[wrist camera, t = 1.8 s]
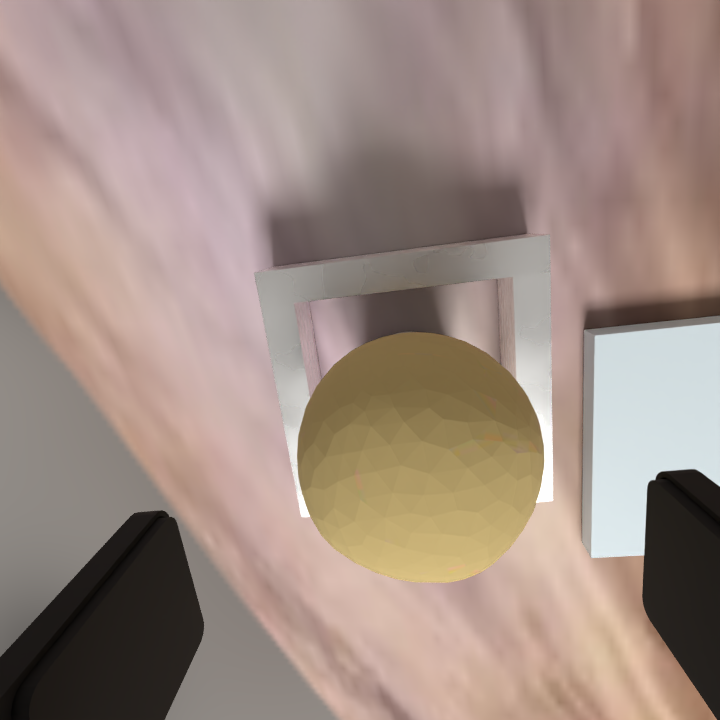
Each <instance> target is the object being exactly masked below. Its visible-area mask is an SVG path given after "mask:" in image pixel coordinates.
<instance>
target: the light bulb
mask: <svg viewBox="0 0 720 720" xmlns="http://www.w3.org/2000/svg"><path fill="white" fill-rule="evenodd" d="M544 464H545V457H544V443H543V438H542V433H541V428H540V423H539V420H538V417H537V414H536V412H535V410H534V408H533V406H532V404H531V402H530V400H529V398H528V396H527V394H526V393H525V391H524V390H523V388H522V387H521V386H520V385H519V383H518V382H517V381H516V379H515V378H514V377H513V376H512V374H511V373H510V372H509V371H508V370H506V369H505V368H504V367H503V366H502V365H500V364H499V363H498V362H497V361H496V360H494V359H493V358H492V357H491V356H490V355H488V354H487V353H486V352H484V351H482V350H480V349H478V348H476V347H475V346H473V345H471V344H469V343H467V342H465V341H462V340H459V339H456V338H452V337H449V336H445V335H441V334H435V333H425V332H411V331H405V332H400V333H396V334H393V335H389V336H384V337H381V338H378V339H376V340H373V341H370V342H367V343H365V344H363V345H361V346H360V347H358V348H356V349H354V350H352V351H351V352H349V353H348V354H347V355H346V356H344V357H343V358H342V359H341V360H339V361H338V362H337V363H336V364H334V365H333V367H332V368H331V369H330V370H329V371H328V373H327V374H326V375H325V376H324V378H323V379H322V380H321V381H320V382H319V384H318V385H317V386H316V388H315V390H314V392H313V394H312V396H311V398H310V400H309V402H308V404H307V405H306V408H305V412H304V416H303V419H302V423H301V427H300V430H299V434H298V447H297V465H298V478H299V483H300V487H301V491H302V495H303V498H304V501H305V504H306V507H307V510H308V513H309V515H310V517H311V519H312V520H313V522H314V524H315V525H316V527H317V529H318V531H319V532H320V534H321V536H322V537H323V538H324V539H325V540H326V541H327V542H328V543H329V544H330V545H331V546H332V547H333V548H334V549H335V550H337V551H338V552H340V553H341V554H343V555H344V556H346V557H347V558H349V559H350V560H352V561H353V562H355V563H357V564H359V565H361V566H363V567H365V568H367V569H369V570H371V571H373V572H375V573H378V574H382V575H385V576H388V577H391V578H394V579H399V580H405V581H411V582H445V583H447V582H453V581H458V580H463V579H466V578H468V577H471V576H474V575H476V574H478V573H481V572H482V571H484V570H485V569H487V568H488V567H490V566H491V565H492V564H494V563H495V562H496V561H497V560H498V559H499V558H500V557H501V556H502V555H503V554H504V553H505V552H506V551H507V550H508V549H509V548H510V547H511V546H512V544H513V543H514V542H515V540H516V539H517V538H518V536H519V535H520V534H521V532H522V531H523V529H524V527H525V526H526V524H527V522H528V520H529V518H530V516H531V515H532V513H533V511H534V508H535V505H536V502H537V499H538V496H539V493H540V489H541V485H542V478H543V471H544Z"/></svg>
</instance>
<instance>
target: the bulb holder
mask: <svg viewBox="0 0 720 720" xmlns="http://www.w3.org/2000/svg"><path fill="white" fill-rule="evenodd" d="M254 275H255V280H256V285H257V290H258V295H259V301H260V306H261V311H262V316H263V321H264V326H265V332H266V337H267V342H268V347H269V352H270V357H271V363H272V368H273V373H274V378H275V383H276V388H277V393H278V399H279V404H280V409H281V414H282V419H283V424H284V430H285V435H286V440H287V445H288V450H289V455H290V461H291V466H292V471H293V476H294V481H295V486H296V492H297V497H298V502H299V507H300V512H301V517H310V515H309V513H308V510H307V507H306V504H305V501H304V498H303V495H302V491H301V487H300V483H299V478H298V465H297V447H298V434H299V430H300V427H301V423H302V419H303V416H304V412H305V408H306V405H307V404H308V402H309V400H310V398H311V396H312V394H313V392H314V390H315V388H316V386H317V385H318V384H319V382H320V381H321V374H320V368H319V362H318V356H317V349H316V343H315V337H314V331H313V325H312V319H311V313H310V306H309V301H315V300H323V299H332V298H340V297H348V296H357V295H365V294H373V293H382V292H390V291H398V290H407V289H415V288H423V287H432V286H440V285H448V284H457V283H465V282H473V281H482V280H490V279H497V287H498V310H499V333H500V355H501V365H502V366H503V367H504V368H505V369H506V370H508V371H509V372H510V373H511V374H512V376H513V377H514V378H515V379H516V381H517V382H518V383H519V385H520V386H521V387H522V388H523V390H524V391H525V393H526V394H527V396H528V398H529V400H530V402H531V404H532V406H533V408H534V410H535V412H536V414H537V417H538V420H539V423H540V428H541V433H542V438H543V443H544V457H545V464H544V471H543V478H542V485H541V489H540V493H539V496H538V499H537V502H544V501H553V456H552V369H551V281H550V235H545V234H521V235H514V236H506V237H498V238H491V239H483V240H475V241H467V242H460V243H452V244H444V245H437V246H429V247H421V248H414V249H406V250H398V251H390V252H383V253H375V254H367V255H360V256H352V257H344V258H337V259H329V260H321V261H314V262H306V263H298V264H290V265H283V266H275V267H271V268H268V269H265V270H262V271H258V272H255V273H254Z"/></svg>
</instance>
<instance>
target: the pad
mask: <svg viewBox="0 0 720 720" xmlns="http://www.w3.org/2000/svg"><path fill="white" fill-rule="evenodd" d="M686 469H696V470H698V471H700V472H701V473H702V474H704V475H705V476H706V477H708V478H709V479H710V480H712V481H713V482H714V483H716V484H717V485H718V486H720V316H710V317H701V318H691V319H682V320H672V321H663V322H653V323H644V324H634V325H625V326H615V327H606V328H596V329H587V330H584V380H583V485H582V543H583V545H584V547H585V548H586V550H587V552H588V553H589V555H590V557H591V558H600V557H620V556H640V555H644V549H645V526H646V504H647V486H648V483H649V481H651V480H655V479H656V476H657V474H658V473H659V472H661V471H673V470H686Z"/></svg>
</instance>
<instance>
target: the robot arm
mask: <svg viewBox="0 0 720 720" xmlns="http://www.w3.org/2000/svg"><path fill="white" fill-rule="evenodd" d="M642 597H643V604H644V608H645V611H646V613H647V616H648V618H649V619H650V621H651V623H652V624H653V626H654V627H655V628H656V630H657V631H658V633H659V634H660V636H661V637H662V639H663V640H664V642H665V643H666V645H667V646H668V648H669V649H670V651H671V652H672V654H673V655H674V657H675V658H676V659H677V661H678V662H679V664H680V665H681V667H682V668H683V670H684V671H685V673H686V674H687V676H688V677H689V679H690V680H691V682H692V683H693V685H694V686H695V688H696V689H697V690H698V692H699V693H700V695H701V696H702V698H703V699H704V701H705V702H706V704H707V705H708V707H709V708H710V710H711V711H712V713H713V714H714V716H715V717H716V718H717V720H720V486H718V485H717V484H716V483H714V482H713V481H712V480H710V479H709V478H708V477H706V476H705V475H704V474H702V473H701V472H700V471H698V470H696V469H686V470H673V471H661V472H659V473H658V474H657V476H656V479H655V480H651V481H649V483H648V486H647V504H646V526H645V549H644V572H643V594H642ZM203 631H204V622H203V617H202V613H201V610H200V606H199V602H198V599H197V595H196V591H195V588H194V584H193V580H192V577H191V573H190V569H189V566H188V562H187V558H186V555H185V551H184V547H183V543H182V540H181V536H180V533H179V529H178V525H177V522H176V520H175V519H174V518H172V517H169V515H168V514H167V513H166V512H165V511H150V512H138V513H134V514H133V515H132V516H130V518H129V519H128V520H127V521H126V522H125V523H124V524H123V525H122V526H121V527H120V528H119V529H118V531H117V532H116V533H115V534H114V535H113V536H112V537H111V538H110V539H109V540H108V541H107V543H105V545H104V546H103V547H102V548H101V549H100V550H99V551H98V552H97V553H96V554H95V555H94V556H93V558H92V559H91V560H90V561H89V562H88V563H87V564H86V565H85V566H84V567H83V568H82V569H81V571H80V572H79V573H78V574H77V575H76V576H75V577H74V578H73V579H72V580H71V581H70V583H68V585H67V586H66V587H65V588H64V589H63V590H62V591H61V592H60V593H59V594H58V595H57V597H56V598H55V599H54V600H53V601H52V602H51V603H50V604H49V605H48V606H47V607H46V609H45V610H44V611H43V612H42V613H41V614H40V615H39V616H38V617H37V618H36V619H35V620H34V621H33V622H32V623H31V625H30V626H29V627H28V628H27V629H26V630H25V631H24V632H23V633H22V634H21V636H19V638H18V639H17V640H16V641H15V642H14V643H13V644H12V645H11V646H10V647H9V648H8V649H7V650H6V652H5V653H4V654H3V655H2V656H1V657H0V720H165V718H166V715H167V713H168V711H169V709H170V707H171V705H172V702H173V700H174V698H175V696H176V694H177V692H178V690H179V688H180V685H181V683H182V681H183V679H184V677H185V675H186V673H187V670H188V668H189V666H190V664H191V662H192V660H193V657H194V655H195V653H196V651H197V649H198V647H199V644H200V642H201V640H202V636H203Z"/></svg>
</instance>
